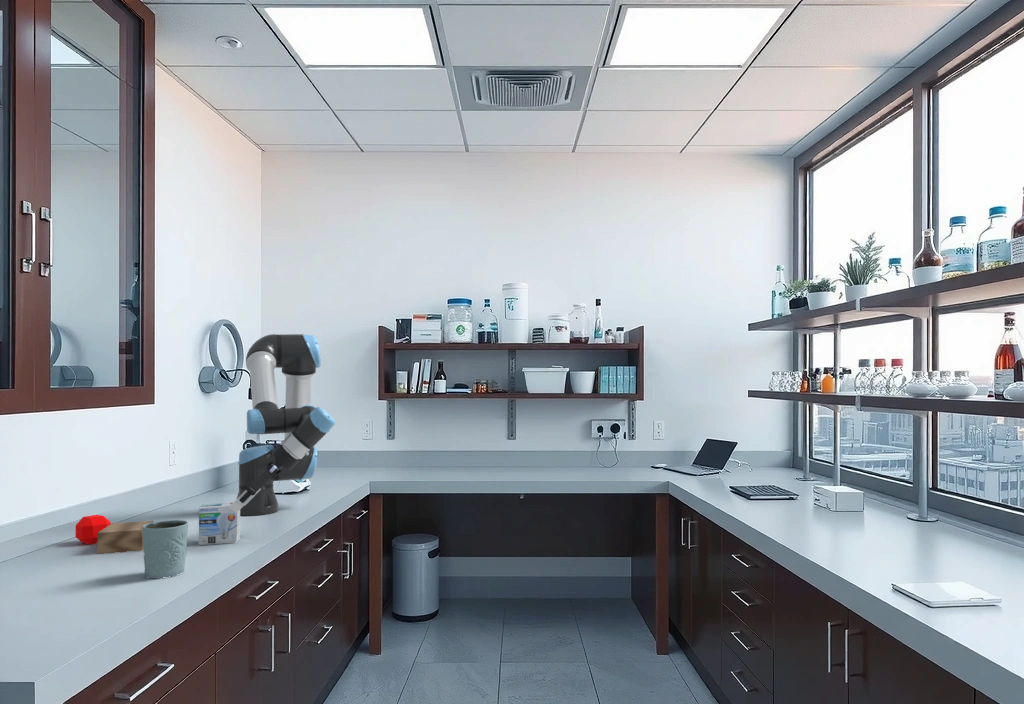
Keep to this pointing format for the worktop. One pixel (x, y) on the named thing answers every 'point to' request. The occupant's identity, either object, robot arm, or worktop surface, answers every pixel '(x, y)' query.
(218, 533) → the light bulb box
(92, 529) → the ball
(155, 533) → the grey green embossed cup
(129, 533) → the walnut block
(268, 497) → the robot arm
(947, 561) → the worktop surface
